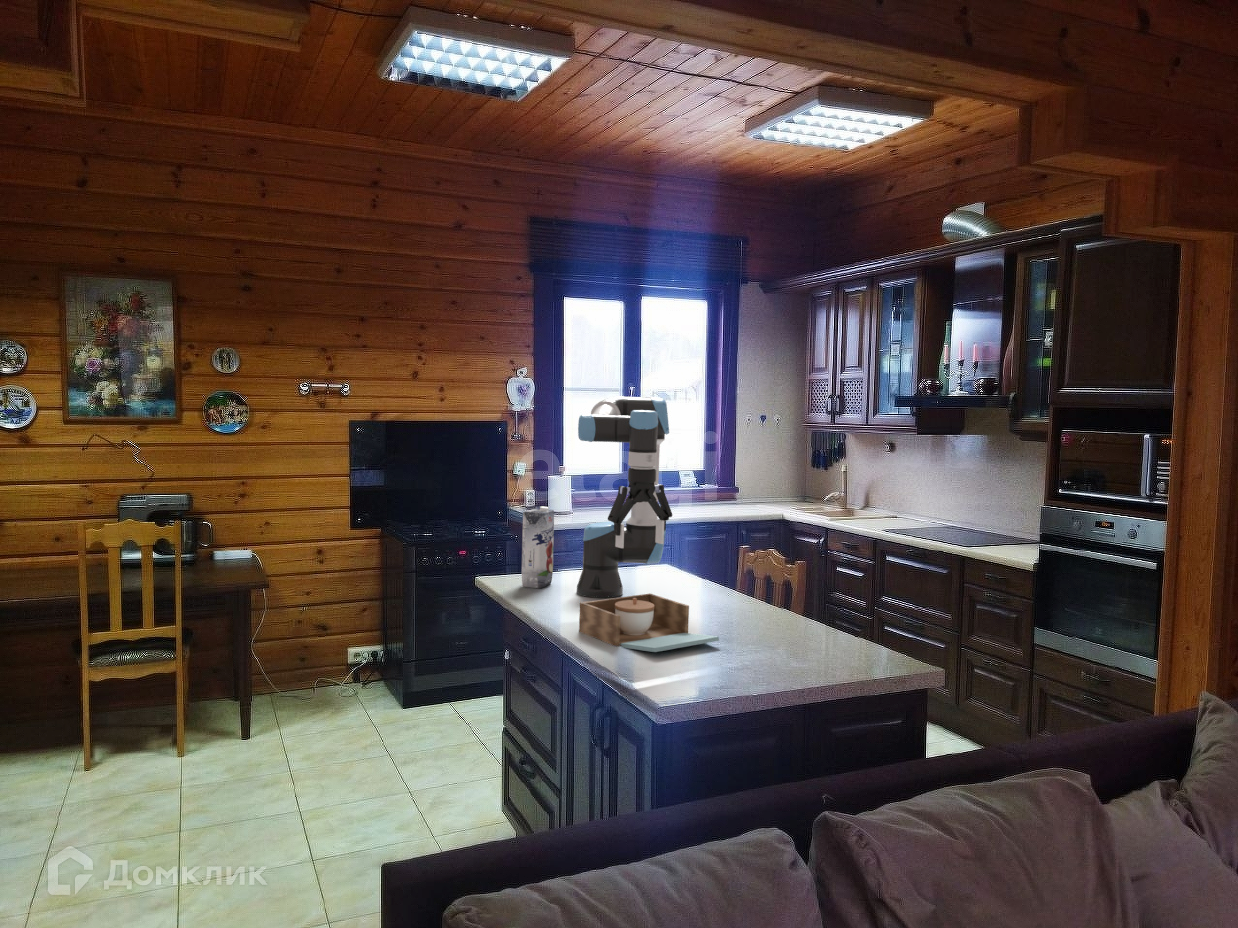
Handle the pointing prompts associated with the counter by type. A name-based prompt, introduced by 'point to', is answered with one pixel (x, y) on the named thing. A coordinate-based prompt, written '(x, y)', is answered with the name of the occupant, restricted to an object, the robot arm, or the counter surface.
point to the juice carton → (537, 547)
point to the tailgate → (669, 642)
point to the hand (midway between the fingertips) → (639, 545)
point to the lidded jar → (634, 616)
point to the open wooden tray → (606, 624)
